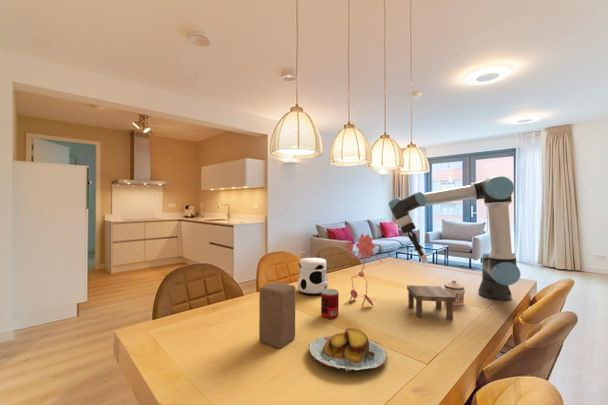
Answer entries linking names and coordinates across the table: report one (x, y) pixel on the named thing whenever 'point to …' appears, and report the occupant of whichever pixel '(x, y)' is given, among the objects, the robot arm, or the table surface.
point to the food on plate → (348, 351)
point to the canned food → (329, 303)
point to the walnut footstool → (430, 298)
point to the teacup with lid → (456, 292)
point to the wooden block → (277, 314)
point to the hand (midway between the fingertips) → (425, 260)
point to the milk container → (312, 275)
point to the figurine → (365, 250)
